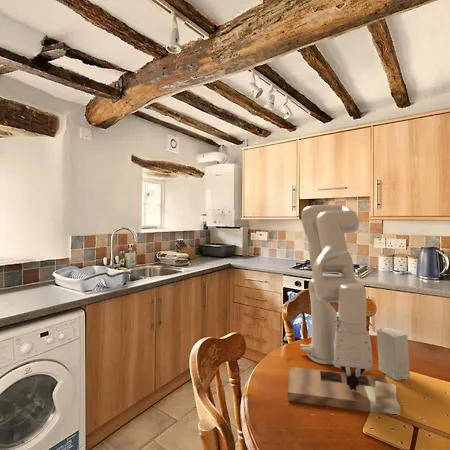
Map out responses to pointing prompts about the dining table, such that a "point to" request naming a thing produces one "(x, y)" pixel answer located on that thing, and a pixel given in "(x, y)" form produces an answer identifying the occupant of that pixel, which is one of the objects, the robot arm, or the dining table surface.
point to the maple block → (385, 394)
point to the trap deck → (335, 390)
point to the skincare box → (393, 353)
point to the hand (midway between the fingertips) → (352, 387)
